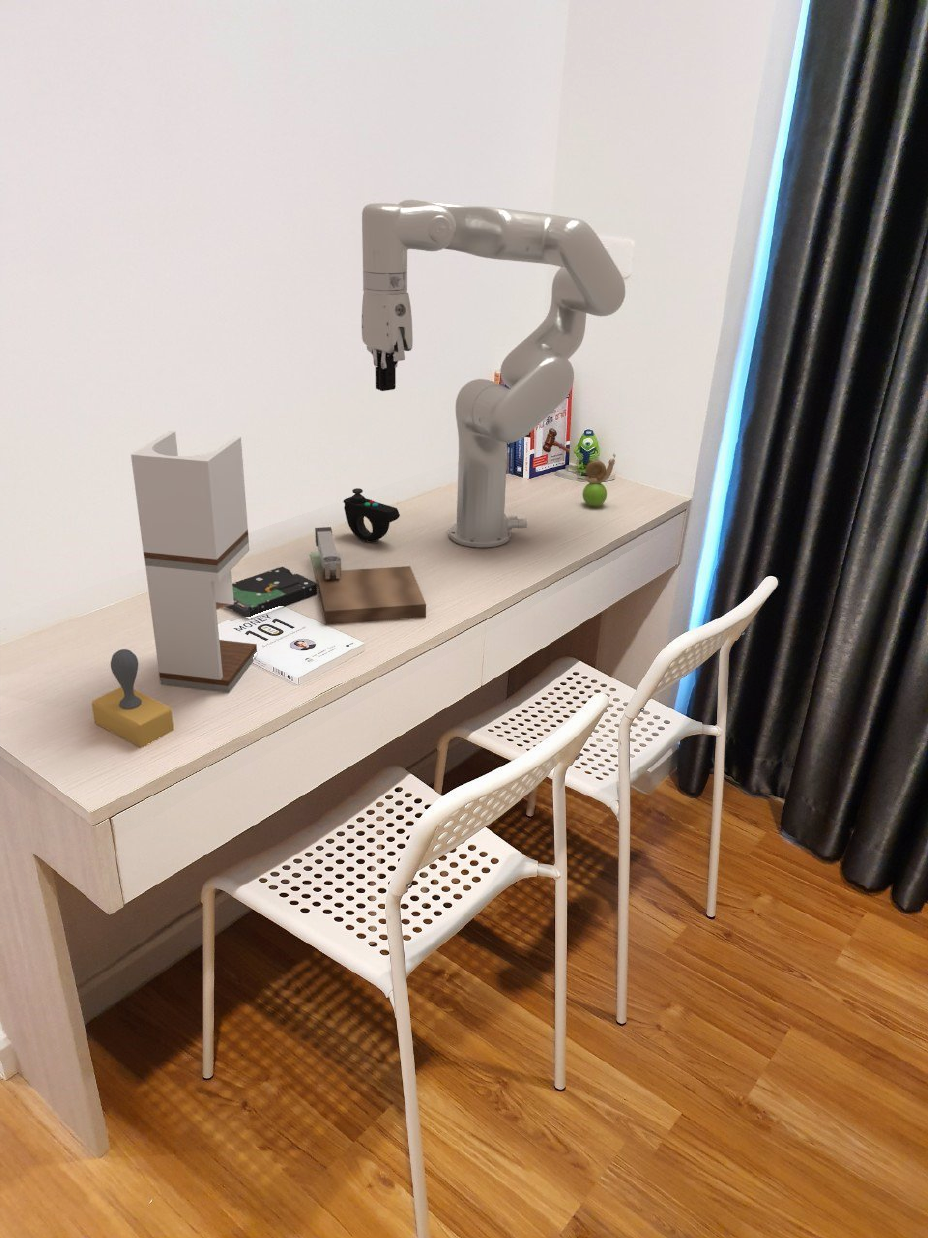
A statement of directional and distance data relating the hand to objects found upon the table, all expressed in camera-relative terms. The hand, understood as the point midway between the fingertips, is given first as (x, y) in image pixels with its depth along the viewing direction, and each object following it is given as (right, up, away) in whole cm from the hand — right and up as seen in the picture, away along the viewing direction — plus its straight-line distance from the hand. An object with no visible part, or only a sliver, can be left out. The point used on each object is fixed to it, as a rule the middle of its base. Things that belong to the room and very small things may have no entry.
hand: (385, 388), depth 175 cm
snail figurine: (+43, -16, +42) cm, 63 cm away
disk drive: (-21, -38, -4) cm, 43 cm away
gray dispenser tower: (-24, -49, -27) cm, 61 cm away
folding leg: (-11, -30, +4) cm, 33 cm away
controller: (-4, -26, +20) cm, 33 cm away
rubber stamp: (-31, -56, -41) cm, 76 cm away
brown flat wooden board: (-4, -35, +2) cm, 35 cm away
